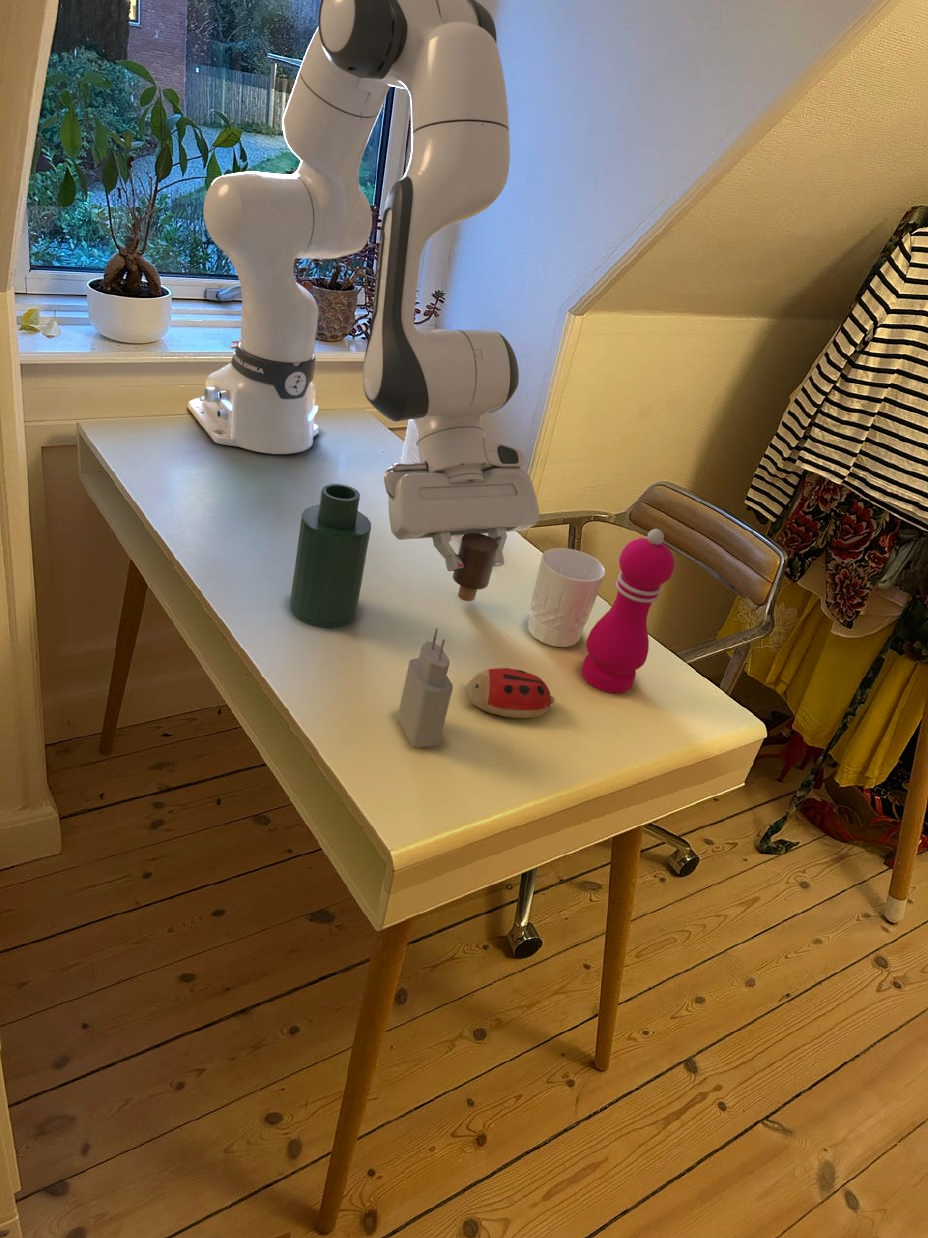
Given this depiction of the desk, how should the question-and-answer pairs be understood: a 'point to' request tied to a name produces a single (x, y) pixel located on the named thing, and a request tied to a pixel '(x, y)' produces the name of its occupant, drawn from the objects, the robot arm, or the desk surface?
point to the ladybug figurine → (509, 693)
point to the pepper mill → (628, 615)
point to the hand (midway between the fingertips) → (476, 568)
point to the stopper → (475, 564)
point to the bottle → (330, 559)
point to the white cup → (564, 596)
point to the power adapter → (426, 696)
